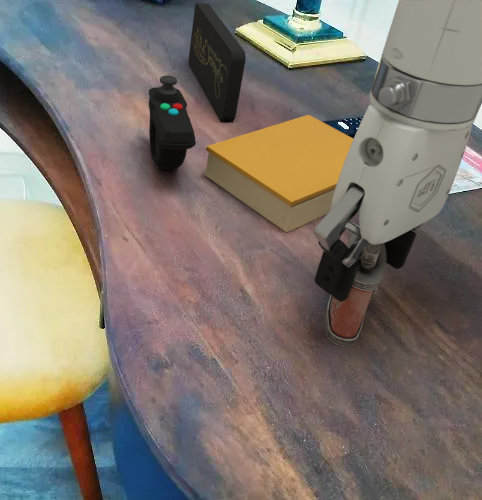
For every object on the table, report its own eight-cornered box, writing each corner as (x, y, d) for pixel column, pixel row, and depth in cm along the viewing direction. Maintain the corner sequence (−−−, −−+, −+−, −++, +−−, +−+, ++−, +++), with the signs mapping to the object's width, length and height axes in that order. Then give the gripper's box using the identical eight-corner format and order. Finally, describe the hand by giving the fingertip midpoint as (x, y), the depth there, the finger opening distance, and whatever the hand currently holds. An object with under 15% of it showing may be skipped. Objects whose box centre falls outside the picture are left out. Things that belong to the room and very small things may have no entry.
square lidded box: (286, 232, 71) (293, 207, 69) (204, 175, 79) (208, 151, 77) (384, 188, 80) (392, 164, 78) (301, 140, 88) (307, 118, 86)
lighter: (359, 351, 57) (394, 264, 51) (320, 340, 58) (351, 253, 52) (364, 294, 63) (396, 211, 57) (329, 285, 64) (358, 202, 58)
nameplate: (234, 123, 90) (246, 53, 84) (221, 123, 90) (232, 53, 84) (199, 63, 106) (207, 1, 100) (188, 63, 106) (195, 1, 100)
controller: (173, 142, 85) (182, 69, 79) (192, 194, 75) (203, 116, 69) (141, 142, 84) (147, 68, 78) (156, 194, 75) (163, 116, 68)
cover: (290, 206, 68) (291, 201, 68) (205, 150, 76) (206, 145, 76) (392, 164, 78) (394, 160, 77) (307, 118, 86) (308, 114, 85)
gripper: (399, 139, 40) (327, 340, 51) (536, 84, 49) (450, 265, 60) (307, 93, 44) (260, 286, 55) (448, 50, 53) (383, 224, 64)
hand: (359, 274), depth 57 cm, fingers closed on lighter, 7 cm apart
